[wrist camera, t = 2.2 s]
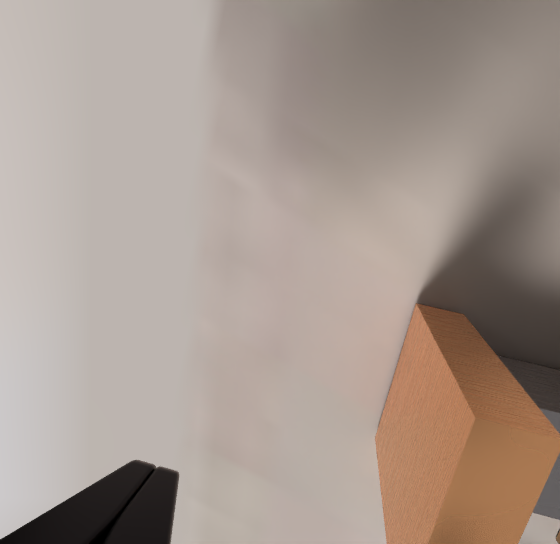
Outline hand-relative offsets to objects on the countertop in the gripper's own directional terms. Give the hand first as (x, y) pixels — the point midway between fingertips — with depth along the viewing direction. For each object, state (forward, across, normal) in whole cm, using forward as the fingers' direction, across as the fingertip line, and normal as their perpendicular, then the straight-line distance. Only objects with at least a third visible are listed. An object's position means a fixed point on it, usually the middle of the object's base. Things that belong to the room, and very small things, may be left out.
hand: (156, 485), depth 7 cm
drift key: (+6, -9, 0) cm, 11 cm away
